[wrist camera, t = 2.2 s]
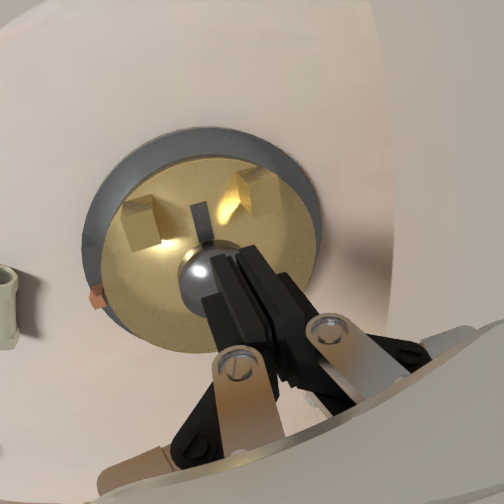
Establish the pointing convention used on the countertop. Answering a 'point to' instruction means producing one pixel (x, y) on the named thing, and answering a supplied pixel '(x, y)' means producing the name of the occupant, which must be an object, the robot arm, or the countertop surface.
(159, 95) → the countertop surface
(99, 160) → the countertop surface
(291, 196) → the lugged brass disc
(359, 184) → the countertop surface
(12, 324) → the pipe fitting
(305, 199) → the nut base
